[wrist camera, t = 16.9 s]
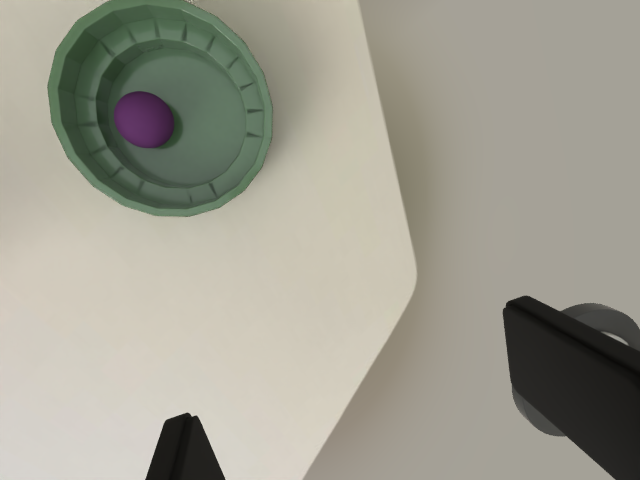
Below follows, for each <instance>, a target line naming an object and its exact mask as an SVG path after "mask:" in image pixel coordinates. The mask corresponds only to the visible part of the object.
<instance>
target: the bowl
mask: <svg viewBox="0 0 640 480" xmlns="http://www.w3.org/2000/svg"><path fill="white" fill-rule="evenodd" d="M47 88H48V96H49V105H50V113H51V121H52V125H53V127H54V129H55V132H56V134H57V136H58V138H59V140H60V142H61V145H62V147H63V149H64V151H65V153H66V155H67V157H68V159H69V160H70V161H71V162H72V163H73V164H74V166H75V167H76V168H77V169H78V170H79V171H80V172H81V173H82V175H83V176H84V177H85V178H86V179H87V180H88V181H89V183H90V184H91V185H92V186H93V187H95V188H96V189H98V190H99V191H101V192H102V193H104V194H106V195H107V196H109V197H110V198H112V199H113V200H115V201H116V202H118V203H120V204H121V205H123V206H125V207H128V208H132V209H135V210H138V211H141V212H145V213H148V214H151V215H154V216H179V217H188V216H193V215H197V214H200V213H204V212H207V211H211V210H214V209H217V208H220V207H221V206H223V205H224V204H226V203H227V202H229V201H230V200H232V199H233V198H235V197H236V196H237V195H239V194H240V193H242V192H243V191H244V190H245V189H246V188H247V186H248V185H249V184H250V182H251V181H252V180H253V179H254V177H255V176H256V175H257V173H258V172H259V171H260V169H261V168H262V166H263V163H264V160H265V157H266V154H267V151H268V149H269V146H270V143H271V140H272V116H273V106H272V102H271V98H270V94H269V91H268V87H267V84H266V80H265V76H264V74H263V71H262V70H261V68H260V66H259V65H258V63H257V61H256V60H255V58H254V57H253V55H252V53H251V52H250V50H249V48H248V47H247V45H246V44H245V42H244V41H243V40H242V39H241V38H240V37H238V36H237V35H236V34H235V33H234V32H233V31H232V30H231V29H230V28H229V27H227V26H226V25H225V24H224V23H223V22H222V21H221V20H220V19H219V18H218V17H216V16H215V15H213V14H211V13H208V12H206V11H204V10H202V9H200V8H198V7H196V6H194V5H192V4H190V3H188V2H186V1H184V0H111V1H108V2H105V3H104V4H102V5H101V6H99V7H97V8H96V9H94V10H93V11H91V12H90V13H88V14H86V15H85V16H83V17H82V18H80V19H79V20H77V21H76V22H75V24H74V25H73V27H72V28H71V29H70V31H69V32H68V34H67V35H66V37H65V38H64V39H63V41H62V42H61V44H60V45H59V47H58V48H57V49H56V51H55V56H54V60H53V64H52V68H51V73H50V77H49V81H48V87H47ZM135 91H144V92H149V93H152V94H154V95H156V96H158V97H159V98H161V99H162V100H163V101H164V102H165V103H166V104H167V105H168V107H169V108H170V110H171V112H172V114H173V117H174V131H173V134H172V136H171V137H170V139H169V140H168V141H167V142H166V143H164V144H163V145H161V146H159V147H156V148H141V147H138V146H135V145H133V144H131V143H130V142H128V141H127V140H126V139H124V138H123V137H122V135H121V134H120V133H119V131H118V130H117V128H116V125H115V122H114V109H115V106H116V104H117V102H118V101H119V100H120V99H121V98H122V97H123V96H124V95H126V94H128V93H131V92H135Z"/></svg>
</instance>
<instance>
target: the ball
mask: <svg viewBox="0 0 640 480" xmlns="http://www.w3.org/2000/svg"><path fill="white" fill-rule="evenodd" d="M114 122H115V125H116V128H117V130H118V131H119V133H120V134H121V135H122V137H123V138H124V139H126V140H127V141H128V142H130V143H131V144H133V145H135V146H138V147H141V148H156V147H159V146H161V145H163V144H164V143H166V142H167V141H168V140H169V139H170V137H171V136H172V134H173V131H174V117H173V114H172V112H171V110H170V108H169V107H168V105H167V104H166V103H165V102H164V101H163V100H162V99H161V98H159V97H158V96H156V95H154V94H152V93H149V92H144V91H135V92H131V93H128V94H126V95H124V96H123V97H122V98H121V99H120V100H119V101H118V102H117V104H116V106H115V109H114Z"/></svg>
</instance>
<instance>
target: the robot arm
mask: <svg viewBox="0 0 640 480" xmlns="http://www.w3.org/2000/svg"><path fill="white" fill-rule="evenodd" d="M503 319H504V328H505V336H506V345H507V354H508V362H509V371H510V378H511V383H512V386H513V387H514V389H515V390H516V392H517V393H518V394H519V395H521V396H522V397H523V398H524V399H525V400H526V401H527V402H528V403H530V404H531V405H532V406H533V407H534V408H535V409H536V410H538V411H539V412H540V413H541V414H542V415H543V416H544V417H545V418H547V419H548V420H549V421H550V422H551V423H552V424H553V425H554V426H556V427H557V428H558V429H559V430H560V431H561V432H562V433H564V434H565V435H566V436H567V437H568V438H569V439H570V440H572V441H573V442H574V443H575V444H576V445H577V446H578V447H579V448H580V449H582V450H583V451H584V452H585V453H586V454H588V456H590V457H591V458H592V459H593V460H594V461H595V462H596V463H597V464H599V465H600V466H601V467H602V468H603V469H604V470H606V472H608V473H609V474H610V475H611V476H612V477H613V478H614V479H616V480H640V351H638V350H636V349H634V348H632V347H630V346H629V345H628V344H627V342H626V341H624V340H623V339H622V338H620V337H618V336H616V335H614V334H612V333H608V332H600V331H598V330H596V329H594V328H592V327H590V326H588V325H586V324H584V323H582V322H580V321H578V320H576V319H574V318H572V317H570V316H568V315H566V314H564V313H562V312H560V311H558V310H556V309H554V308H552V307H550V306H548V305H546V304H544V303H542V302H540V301H538V300H536V299H534V298H531V297H530V296H522V297H520V298H516V299H514V300H511V301H508V302H507V303H506V308H504V309H503ZM145 480H225V477H224V475H223V473H222V470H221V468H220V466H219V463H218V461H217V459H216V457H215V454H214V452H213V450H212V447H211V445H210V443H209V440H208V438H207V436H206V433H205V431H204V429H203V426H202V424H201V422H200V419H199V418H198V416H193V417H192V416H191V415H190V414H189V413H185V414H182V415H179V416H176V417H173V418H170V419H167V420H166V421H165V423H164V425H163V428H162V431H161V434H160V437H159V440H158V443H157V446H156V449H155V452H154V455H153V458H152V461H151V464H150V467H149V470H148V473H147V476H146V479H145Z"/></svg>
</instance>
